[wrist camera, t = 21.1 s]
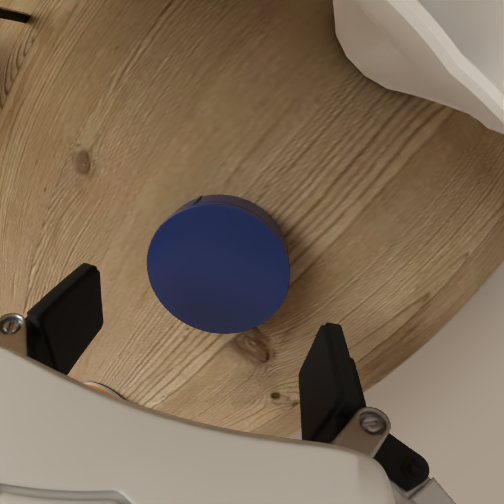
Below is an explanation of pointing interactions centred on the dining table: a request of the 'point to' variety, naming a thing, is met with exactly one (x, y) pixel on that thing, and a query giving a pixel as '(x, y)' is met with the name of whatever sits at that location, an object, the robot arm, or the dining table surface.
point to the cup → (430, 50)
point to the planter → (14, 15)
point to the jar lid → (219, 264)
